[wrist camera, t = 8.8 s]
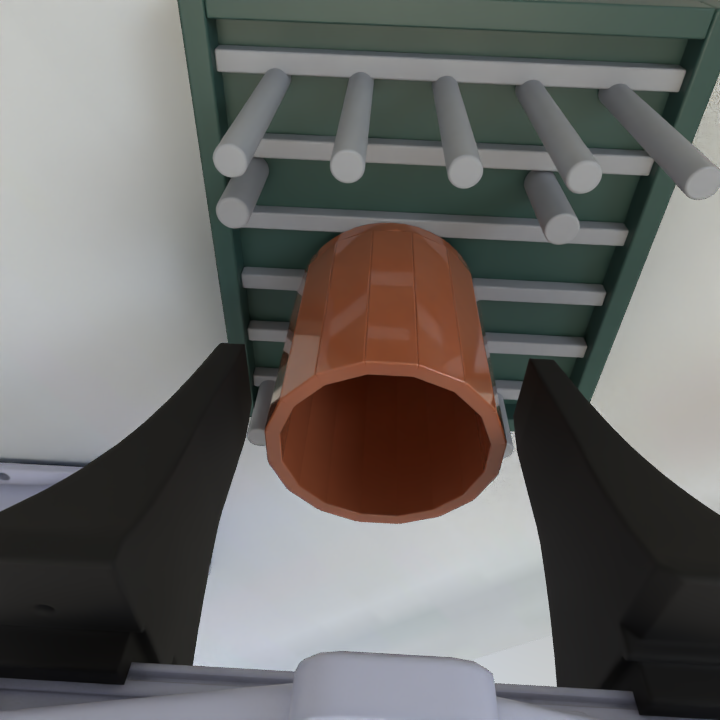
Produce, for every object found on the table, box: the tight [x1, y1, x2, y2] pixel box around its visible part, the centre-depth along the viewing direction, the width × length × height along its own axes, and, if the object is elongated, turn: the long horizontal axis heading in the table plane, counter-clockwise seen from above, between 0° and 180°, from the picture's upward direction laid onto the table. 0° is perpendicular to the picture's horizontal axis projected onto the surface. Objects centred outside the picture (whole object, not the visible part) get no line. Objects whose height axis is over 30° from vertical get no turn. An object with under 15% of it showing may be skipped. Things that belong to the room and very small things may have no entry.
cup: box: [264, 223, 507, 524], centre depth 15 cm, size 5×5×6 cm
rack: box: [177, 0, 720, 458], centre depth 15 cm, size 12×13×6 cm
